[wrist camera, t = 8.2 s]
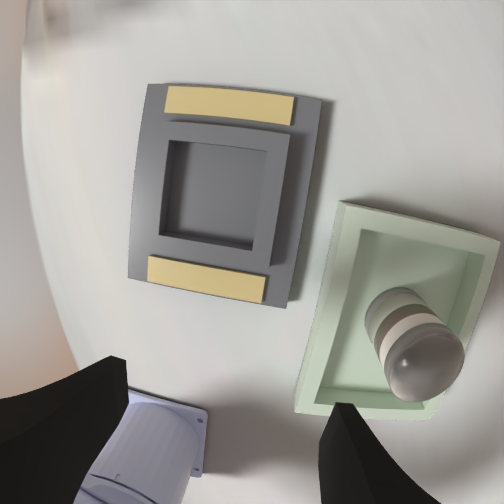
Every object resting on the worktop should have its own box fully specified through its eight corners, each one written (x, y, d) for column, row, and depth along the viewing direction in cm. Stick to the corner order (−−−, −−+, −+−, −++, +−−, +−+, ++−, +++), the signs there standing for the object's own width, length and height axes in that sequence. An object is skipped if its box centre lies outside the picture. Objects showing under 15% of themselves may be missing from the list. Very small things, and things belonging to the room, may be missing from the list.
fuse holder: (286, 302, 20) (285, 317, 18) (134, 273, 21) (119, 284, 18) (320, 103, 17) (324, 94, 15) (154, 87, 17) (139, 79, 15)
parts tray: (420, 399, 21) (430, 419, 18) (294, 389, 21) (294, 412, 19) (480, 233, 17) (500, 242, 15) (338, 200, 18) (346, 205, 16)
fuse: (416, 345, 19) (449, 399, 13) (359, 345, 19) (379, 404, 14) (429, 287, 18) (474, 330, 12) (370, 285, 18) (400, 332, 13)
